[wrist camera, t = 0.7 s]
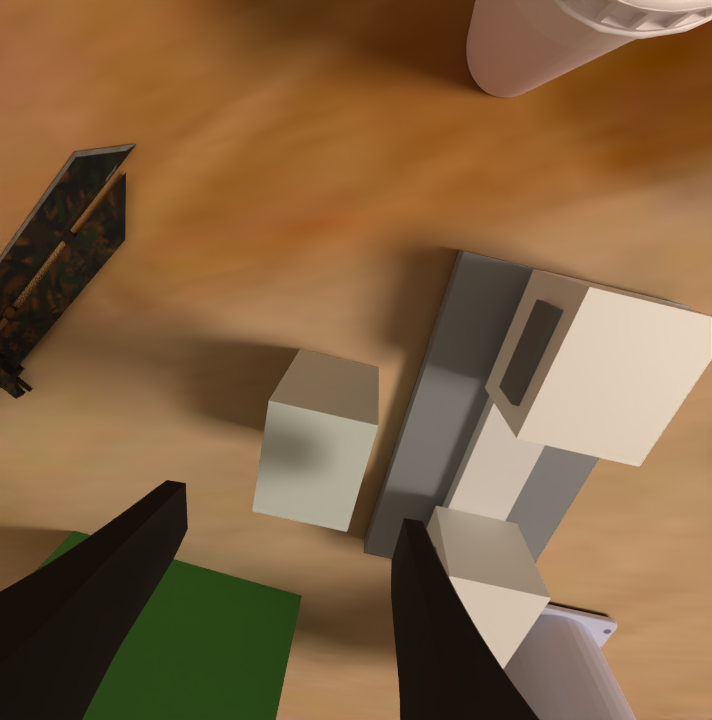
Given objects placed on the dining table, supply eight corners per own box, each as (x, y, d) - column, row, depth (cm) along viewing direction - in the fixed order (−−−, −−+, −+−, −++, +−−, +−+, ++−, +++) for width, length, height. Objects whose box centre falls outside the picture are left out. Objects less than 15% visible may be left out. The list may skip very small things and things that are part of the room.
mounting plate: (515, 573, 25) (556, 680, 19) (364, 540, 24) (359, 638, 19) (674, 302, 17) (822, 343, 11) (459, 249, 17) (500, 265, 11)
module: (355, 452, 22) (347, 531, 16) (282, 435, 22) (249, 510, 16) (378, 366, 20) (378, 425, 14) (297, 348, 19) (264, 399, 14)
